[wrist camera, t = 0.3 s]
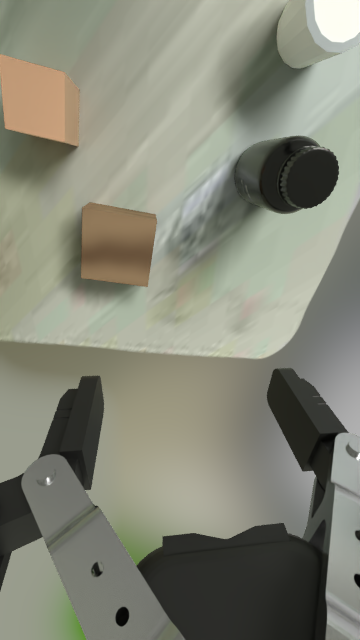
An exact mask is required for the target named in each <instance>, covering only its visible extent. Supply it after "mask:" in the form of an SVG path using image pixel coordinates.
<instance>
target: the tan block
mask: <svg viewBox="0 0 360 640" xmlns="http://www.w3.org/2000/svg"><path fill="white" fill-rule="evenodd" d="M0 76H1V88H2V99H3V111H4V122H5V129H9V130H12V131H16V132H20V133H23V134H27V135H31V136H35V137H39V138H44V139H48V140H52V141H57V142H61V143H65V144H70V145H74V146H78V145H79V93H80V90H79V89H78V87H77V86H76V85H75V84H74V83H73V81H72V80H71V79H70V78H69V77H68V76H67V74H66V73H65V72H62V71H58V70H55V69H51V68H47V67H44V66H40V65H37V64H33V63H30V62H26V61H22V60H19V59H15V58H12V57H8V56H5V55H1V54H0Z"/></svg>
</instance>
